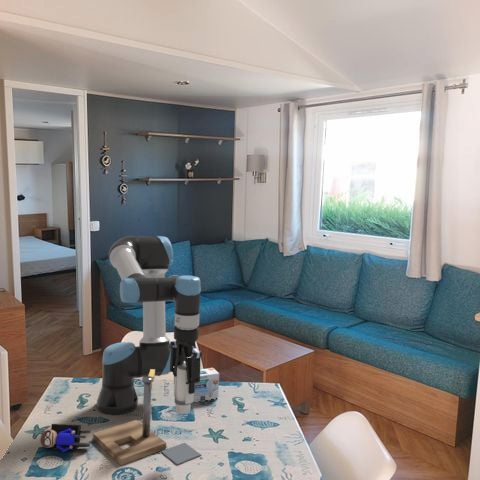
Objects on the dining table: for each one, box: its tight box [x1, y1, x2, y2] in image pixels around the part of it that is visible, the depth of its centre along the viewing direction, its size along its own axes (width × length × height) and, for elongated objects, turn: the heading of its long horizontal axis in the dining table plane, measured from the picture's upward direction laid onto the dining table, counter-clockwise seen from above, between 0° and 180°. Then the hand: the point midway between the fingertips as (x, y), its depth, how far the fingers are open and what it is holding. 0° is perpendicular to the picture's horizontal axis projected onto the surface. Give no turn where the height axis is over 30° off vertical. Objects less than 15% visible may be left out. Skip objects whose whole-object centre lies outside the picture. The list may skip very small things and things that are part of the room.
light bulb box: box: [193, 367, 220, 403], centre depth 196 cm, size 11×7×11 cm, turn 118°
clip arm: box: [149, 369, 156, 390], centre depth 167 cm, size 2×13×3 cm, turn 4°
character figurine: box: [39, 423, 92, 453], centre depth 153 cm, size 8×7×15 cm
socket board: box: [92, 419, 167, 466], centre depth 158 cm, size 19×16×2 cm
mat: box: [160, 442, 202, 466], centre depth 154 cm, size 9×9×1 cm
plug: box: [174, 362, 192, 415], centre depth 152 cm, size 5×5×15 cm
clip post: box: [141, 376, 155, 438], centre depth 159 cm, size 4×4×20 cm
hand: (183, 399), depth 152 cm, fingers closed on plug, 5 cm apart
